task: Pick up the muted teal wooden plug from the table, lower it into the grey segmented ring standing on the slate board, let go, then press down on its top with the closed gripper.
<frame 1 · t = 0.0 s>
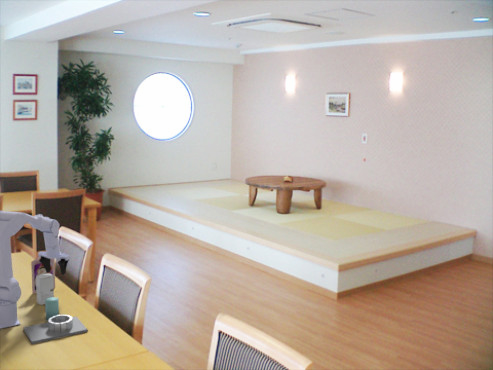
hand: (56, 272, 233), 11 cm above the table, tool pointing down, fingers open, 7 cm apart
board: (55, 330, 200), on the table
grey segmented ring: (60, 329, 201), resting on board
greeting card: (40, 289, 242), on the table
skincare box: (45, 302, 227), on the table
plug: (52, 318, 211), on the table
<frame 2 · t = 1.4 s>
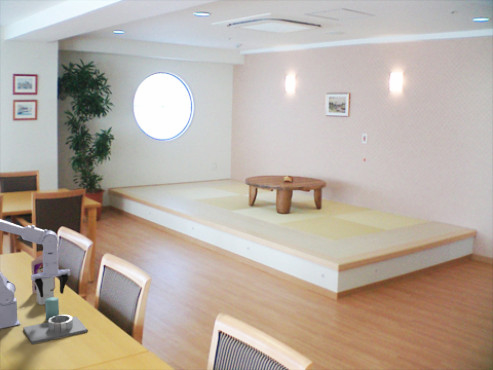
hand: (51, 294, 209), 10 cm above the table, tool pointing down, fingers open, 7 cm apart
nothing on the table moved.
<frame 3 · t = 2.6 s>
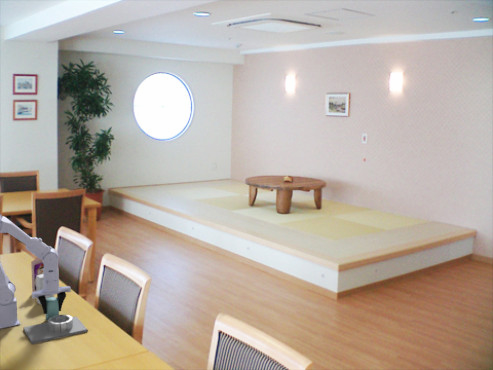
hand: (52, 311, 210), 3 cm above the table, tool pointing down, fingers closed on plug, 5 cm apart
plug: (52, 318, 211), on the table, touching gripper
everything else where it was.
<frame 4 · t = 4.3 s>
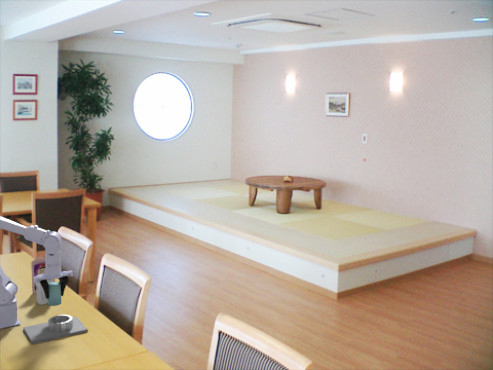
hand: (54, 296, 206), 10 cm above the table, tool pointing down, fingers closed on plug, 5 cm apart
plug: (54, 303, 206), point 8 cm above the table, touching gripper
everything else where it was.
when the fingers open (5 cm above the table, at t = 6.2 s): plug drops 2 cm, resting on board.
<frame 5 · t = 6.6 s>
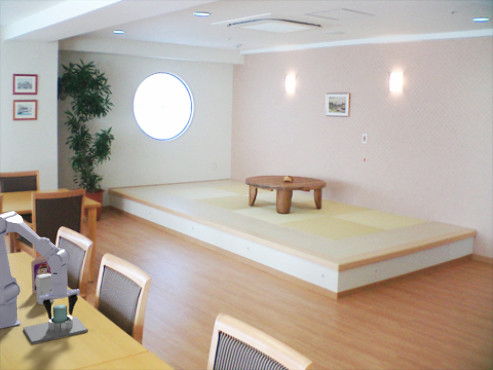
hand: (60, 316, 200), 5 cm above the table, tool pointing down, fingers open, 7 cm apart
plug: (60, 327, 201), point 1 cm above the table, touching board
everything else where it was.
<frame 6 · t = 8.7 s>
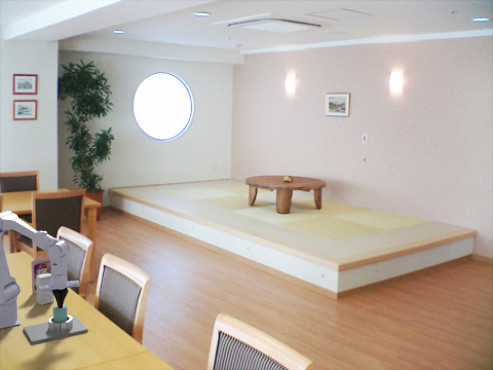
hand: (60, 307, 200), 9 cm above the table, tool pointing down, fingers closed, pressing on plug
plug: (60, 327, 201), point 1 cm above the table, touching board, gripper
everything else where it was.
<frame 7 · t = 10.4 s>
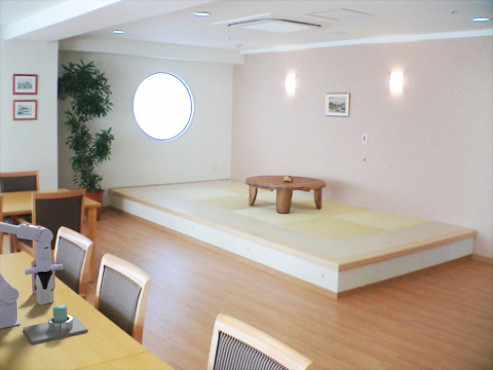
hand: (44, 288, 214), 10 cm above the table, tool pointing down, fingers closed
plug: (60, 327, 201), point 1 cm above the table, touching board
everything else where it was.
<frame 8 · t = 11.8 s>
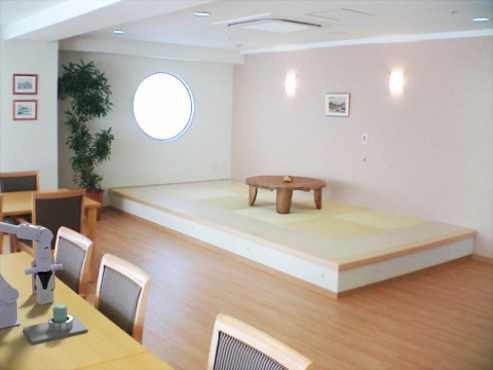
hand: (44, 288, 214), 10 cm above the table, tool pointing down, fingers closed
nothing on the table moved.
at the end: plug 0.0 cm from the target spot on the board, point 1.0 cm above the board's base; plug tilted 0°; the gripper is holding nothing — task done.
